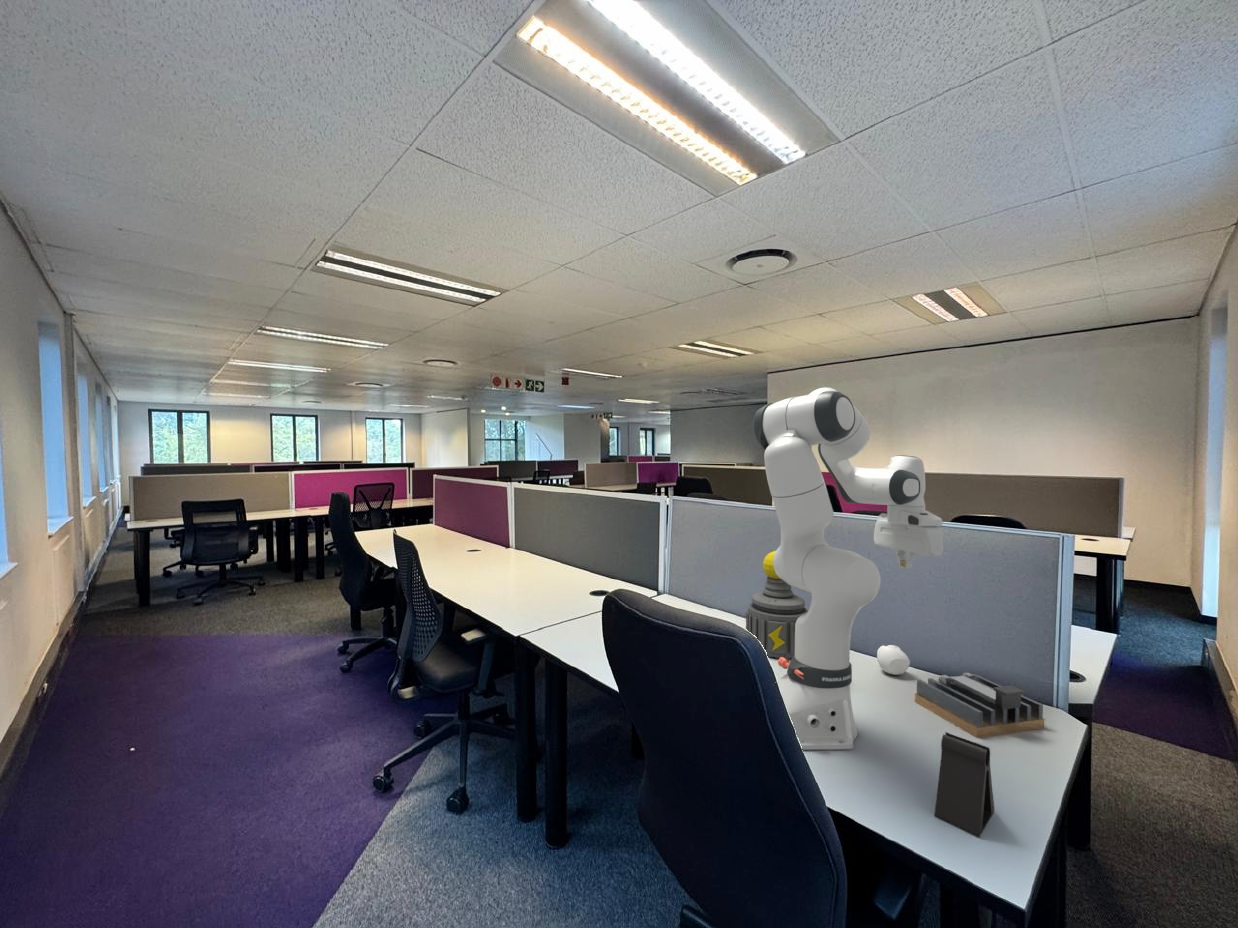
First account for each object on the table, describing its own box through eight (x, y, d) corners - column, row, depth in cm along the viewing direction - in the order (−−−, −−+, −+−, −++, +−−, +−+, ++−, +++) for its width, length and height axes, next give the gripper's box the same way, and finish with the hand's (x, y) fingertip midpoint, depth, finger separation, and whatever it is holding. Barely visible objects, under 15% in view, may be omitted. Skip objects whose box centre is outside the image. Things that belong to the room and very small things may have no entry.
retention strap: (993, 704, 107) (993, 699, 107) (947, 680, 118) (947, 676, 118) (1010, 702, 108) (1010, 697, 108) (963, 678, 120) (963, 674, 120)
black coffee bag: (952, 793, 86) (953, 723, 86) (994, 811, 82) (995, 738, 82) (934, 816, 80) (934, 742, 80) (978, 838, 76) (979, 759, 76)
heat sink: (980, 739, 103) (981, 696, 103) (914, 701, 119) (915, 664, 119) (1048, 730, 107) (1049, 688, 107) (976, 694, 123) (976, 658, 123)
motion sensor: (915, 676, 134) (915, 648, 134) (896, 681, 130) (896, 652, 130) (888, 665, 141) (888, 638, 141) (869, 670, 138) (869, 642, 138)
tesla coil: (747, 634, 165) (748, 544, 165) (808, 641, 159) (809, 547, 159) (743, 655, 147) (744, 554, 147) (811, 664, 141) (813, 558, 141)
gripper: (868, 512, 143) (867, 560, 143) (927, 520, 124) (926, 576, 124) (886, 512, 145) (886, 559, 145) (948, 520, 125) (947, 575, 125)
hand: (905, 567), depth 134 cm, fingers closed
